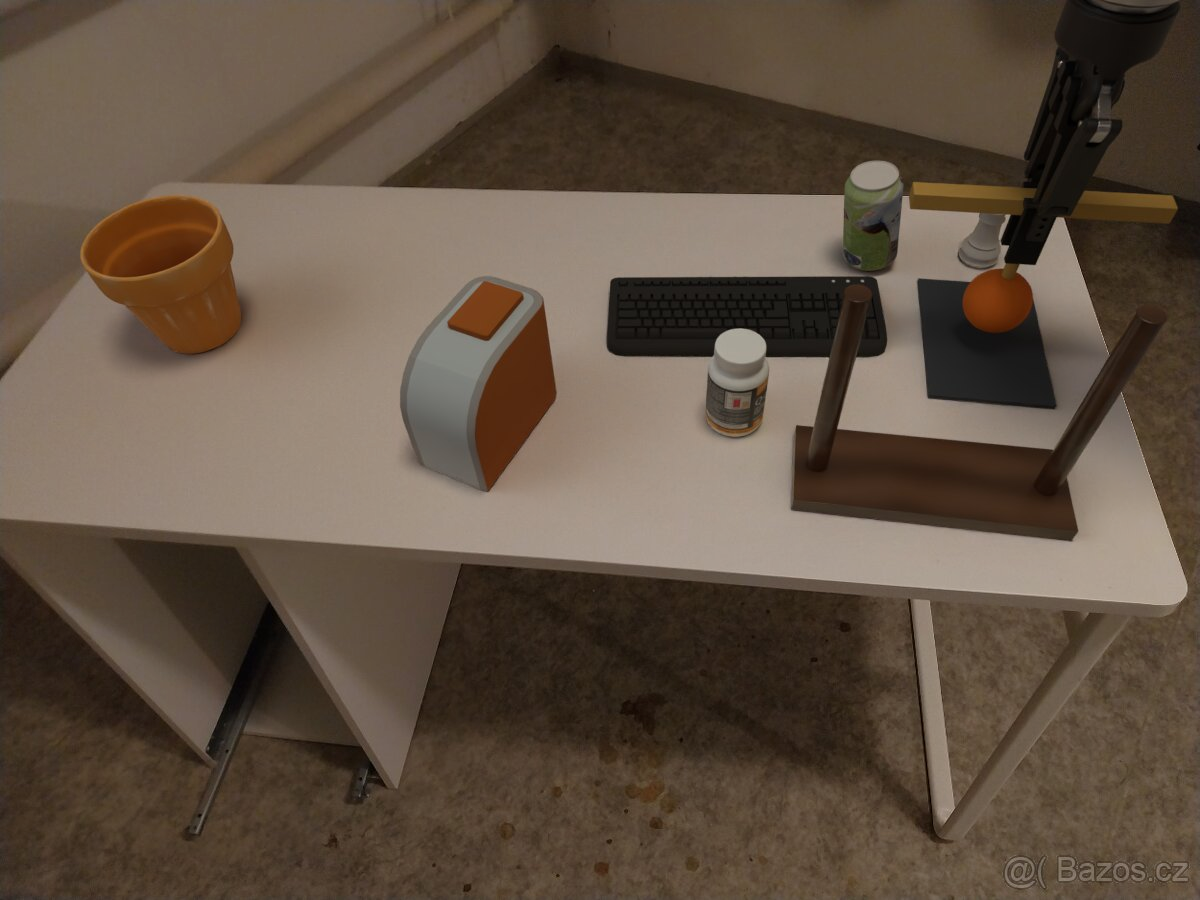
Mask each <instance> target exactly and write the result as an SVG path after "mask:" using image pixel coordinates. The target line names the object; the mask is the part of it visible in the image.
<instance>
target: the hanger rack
mask: <svg viewBox="0 0 1200 900" xmlns="http://www.w3.org/2000/svg"><path fill="white" fill-rule="evenodd" d="M871 298H872V292H871V290H870V289H869V288H867V287H866V286H863V285H858V284H856V285H850V286H848V287H847V288H846V289H845V291H844V295H843V300H842V304H841V309H840V313H839V317H838V322H837V326H836V331H835V335H834V339H833V344H832V348H831V353H830V357H828V362H827V366H826V370H825V375H824V379H823V383H822V389H821V392H820V397H819V402H818V406H817V410H816V414H815V419H814V423H813V426H811V425H801V424H800V425H799V424H796V425H795V428H794V433H793V449H792V451H793V453H792V475H791V476H792V477H791V479H792V480H791V502H790V503H791V504H790V505H791V506H790V509H791V511H799V512H806V513H807V512H808V513H817V514H827V515H835V516H844V517H854V518H862V519H871V520H880V521H890V522H899V523H907V524H908V523H909V524H916V525H928V526H936V527H943V528H953V529H963V530H970V531H971V530H972V531H980V532H981V531H982V532H989V533H990V532H991V533H998V534H1008V535H1016V536H1024V537H1025V536H1027V537H1035V538H1043V539H1044V538H1045V539H1054V540H1060V541H1061V540H1063V541H1070V542H1071V541H1073V540H1074V538H1075V537H1076V536H1077V534H1078V533H1079V528H1078V523H1077V518H1076V514H1075V513H1076V512H1075V509H1074V504H1073V499H1072V494H1071V489H1070V486H1069V482H1068V481H1069V480H1068V476H1069V474H1070V473H1071V471H1072V470H1073V468H1074V467H1075V465H1076V464H1077V462H1078V461H1079V459H1080V457H1081V456H1082V454H1083V453H1084V451H1085V449H1086V448H1087V446H1088V445H1089V443H1090V442H1091V440H1092V439H1093V437H1094V435H1095V434H1096V432H1097V431H1098V429H1099V428H1100V426H1101V424H1102V423H1103V421H1104V420H1105V418H1106V417H1107V415H1108V414H1109V412H1110V410H1111V409H1112V408H1113V406H1114V404H1115V403H1116V401H1117V400H1118V398H1119V397H1120V395H1121V393H1122V392H1123V391H1124V389H1125V387H1126V385H1127V384H1128V382H1129V381H1130V380H1131V378H1132V376H1133V375H1134V373H1135V371H1136V370H1137V369H1138V367H1139V365H1140V364H1141V362H1142V360H1143V359H1144V357H1145V356H1146V354H1147V353H1148V352H1149V350H1150V348H1151V346H1153V344H1154V342H1155V340H1156V338H1157V337H1158V335H1159V334H1160V332H1161V331H1162V330H1163V328H1164V326H1165V324H1166V323H1167V322H1168V319H1169V317H1168V314H1167V312H1166V311H1165V310H1164V309H1162V308H1160V307H1159V306H1156V305H1153V304H1143V305H1140V306H1138V307H1137V308H1136V310H1135V311H1134V313H1133V315H1132V317H1131V318H1130V320H1129V322H1128V323H1127V325H1126V326H1125V328H1124V330H1123V331H1122V333H1121V335H1120V337H1119V338H1118V340H1117V342H1116V343H1115V345H1114V347H1113V348H1112V350H1111V352H1110V353H1109V355H1108V357H1107V359H1106V360H1105V362H1104V364H1103V365H1102V367H1101V368H1100V371H1099V372H1098V374H1097V375H1096V377H1095V378H1094V380H1093V382H1092V384H1091V385H1090V387H1089V389H1088V391H1086V394H1085V395H1084V398H1083V399H1082V401H1081V402H1080V404H1079V405H1078V407H1077V409H1076V411H1075V413H1074V414H1073V416H1072V417H1071V419H1070V421H1069V422H1068V424H1067V426H1066V428H1065V429H1064V431H1063V433H1062V434H1061V436H1060V438H1059V439H1058V441H1057V443H1056V445H1055V446H1054V447H1053V449H1052V448H1051V449H1050V448H1040V447H1032V446H1031V447H1030V446H1019V445H1011V444H1010V445H1009V444H1000V443H999V444H998V443H989V442H988V443H987V442H977V441H968V440H956V439H946V438H938V437H937V438H936V437H926V436H916V435H905V434H904V435H903V434H895V433H884V432H883V433H882V432H872V431H864V430H863V431H862V430H852V429H840V428H839V424H840V421H841V416H842V413H843V408H844V405H845V401H846V397H847V393H848V390H849V385H850V382H851V378H852V374H853V370H854V366H855V362H856V358H857V357H856V355H857V352H858V348H859V344H860V340H861V336H862V333H863V329H864V325H865V321H866V317H867V314H868V310H869V306H870V302H871Z"/></svg>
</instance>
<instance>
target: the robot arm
mask: <svg viewBox="0 0 1200 900" xmlns="http://www.w3.org/2000/svg"><path fill="white" fill-rule="evenodd" d="M1180 10H1181V3H1180V0H1065V1H1064V5H1063V8H1062V10H1061V13H1060V16H1059V18H1058V22H1057V24H1056V27H1055V30H1054V34H1053V35H1054V41H1055V44H1056V45H1057V48H1055V54H1054V55H1055V56H1054V60H1053V65H1052V68H1051V72H1050V75H1049V79H1048V82H1047V84H1046V88H1045V91H1044V94H1043V97H1042V100H1041V103H1040V106H1039V108H1038V112H1037V115H1036V117H1035V120H1034V125H1033V127H1032V130H1031V133H1030V137H1029V138H1028V142H1027V145H1026V149H1025V150H1024V153H1023V160H1024V161H1025V162H1028V163H1027V165H1026V167H1025V168H1024V173H1023V174H1024V179H1026V181H1023V183H1022V184H1021V187H1020V188H1037V190H1036V192H1035V195H1034V198H1024V201H1023V208H1024V210H1023V213H1022V215H1009V217H1008V220H1007V223H1006V225H1005V228H1004V231H1003V233H1002V236H1001V239H1000V246H1007V247H1008V248H1007V250H1006V252H1005V255H1004V257H1003V259H1004V264H1006V263H1008V264H1020V265H1024V266H1026V265H1027V266H1036V265H1037V263H1038V261H1039V258H1040V257H1041V254H1042V253H1043V249H1044V248H1045V245H1046V243H1047V242H1048V241H1047V240H1048V238H1049V236H1050V234H1051V231H1052V229H1053V227H1054V225H1055V222H1056V220H1057V218H1058V217H1057V216H1071V214H1072V213H1073V211H1074V209H1075V207H1076V205H1077V203H1078V202H1079V200H1080V198H1081V196H1082V194H1083V192H1084V191H1086V188H1087V187H1088V185H1089V184H1090V181H1091V180H1092V177H1093V176H1094V174H1095V172H1096V170H1097V168H1098V167H1099V165H1100V162H1101V161H1102V159H1103V157H1104V155H1105V154H1106V152H1107V150H1108V148H1109V147H1110V145H1111V144H1113V142H1114V141H1115V140H1116V139H1117V137H1118V136H1119V135H1120V134H1121V131H1122V129H1123V120H1122V119H1120V118H1112V109H1113V107H1114V105H1116V104H1117V103H1118V102H1119V100H1120V98H1121V96H1122V93H1123V91H1124V88H1125V84H1126V81H1125V80H1126V79H1125V78H1126V73H1127V72H1128V71H1129V70H1130V69H1132V68H1133V67H1135V66H1138V65H1140V64H1143V63H1146V62H1149V61H1150V60H1152V59H1154V58H1155V57H1156V56H1157V55H1158V54H1159V53H1160V52H1161V50H1162V48H1163V47H1164V44H1165V42H1166V39H1167V38H1168V35H1169V33H1170V31H1171V29H1172V27H1173V25H1174V23H1175V20H1176V18H1177V17H1178V14H1179V12H1180Z"/></svg>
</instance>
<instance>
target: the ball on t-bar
mask: <svg viewBox="0 0 1200 900" xmlns="http://www.w3.org/2000/svg"><path fill="white" fill-rule="evenodd" d="M1036 190H1037V188H1021V187H1017V186H1016V187H1015V186H999V185H981V184H980V185H978V184H959V183H944V182H943V183H941V182H940V183H939V182H921V181H913V182H911V187H910V191H909V195H908V202H909V209H910V210H920V211H938V212H952V213H953V212H955V213H973V214H980V213H989V214H1006V215H1008V216H1010V215H1022V213H1023V210H1024V208H1023V201H1024V198H1034V195H1035V192H1036ZM1178 209H1179V208H1178V205H1177V202H1176V200H1175V198H1174V196H1173V195H1171V194H1154V193H1153V194H1151V193H1135V192H1133V193H1131V192H1113V191H1096V190H1095V191H1094V190H1084V192H1083V194H1082V196H1081V198H1080V200H1079V202H1078V203H1077V205H1076V207H1075V209H1074V211H1073V213H1072V214H1071V216H1057V218H1060V219H1079V220H1095V221H1096V220H1098V221H1113V222H1115V221H1116V222H1132V223H1133V222H1134V223H1148V224H1149V223H1150V224H1165V225H1166V224H1168V225H1169V224H1170V223H1172V220H1173V218H1174V217H1175V215H1176V214H1177V212H1178ZM1006 215H1005V216H1006ZM1020 265H1021V264H1008V263H1004V267H1003V268H1001V267H1000V268H992V269H989V270H988V269H987V270H985V271H983V272H982V273H980V274H978V275H976V276H975V277H974V278H973V279H972V280H971V281H969V282H970V284H969V285H968V287H967V288H966V290H965V293H964V296H963V310H964V314H965V316H966V318H967V319H968V321H969V322H970V323H971V324H972V325H973V326H975V327H976V328H978V329H980V330H982V331H985V332H989V333H1001V332H1006V331H1009V330H1011V329H1013V328H1015V327H1017V326H1018V325H1020V324H1021V323H1022V322H1023V321H1024V320H1025V319H1026V317H1027V316H1028V314H1029V312H1030V310H1031V307H1032V303H1033V300H1034V294H1033V289H1032V286H1031V285H1030V283H1029V282H1028V280H1027V279H1026V278H1025V277H1024V276H1023V275H1021V274H1020V273H1019V272H1018V269H1019V267H1020ZM1030 286H1031V287H1030Z"/></svg>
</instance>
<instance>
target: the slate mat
mask: <svg viewBox="0 0 1200 900" xmlns="http://www.w3.org/2000/svg"><path fill="white" fill-rule="evenodd" d="M916 282H917V283H916V284H917V295H918V303H919V315H920V316H919V317H920V327H921V335H922V337H921V338H922V347H923V348H922V349H923V357H924V358H923V359H924V368H925V378H926V391H927V398H928V399H936V400H947V401H959V402H968V403H979V404H980V403H981V404H991V405H992V404H993V405H1002V406H1003V405H1004V406H1015V407H1026V408H1037V409H1049V410H1056V409H1057V407H1058V404H1057V400H1056V396H1055V391H1054V386H1053V382H1052V377H1051V372H1050V367H1049V363H1048V359H1047V355H1046V349H1045V346H1044V341H1043V335H1042V332H1041V327H1040V323H1039V317H1038V314H1037V310H1036V309H1037V308H1036V304H1035V301H1034V299H1033V303H1032V307H1031V310H1030V312H1029V314H1028V316H1027V317H1026V319H1025V320H1024V321H1023V322H1022V323H1021V324H1020V325H1018V326H1017V327H1015V328H1013V329H1011V330H1009V331H1006V332H1001V333H989V332H985V331H982V330H980V329H978V328H976V327H975V326H973V325H972V324H971V323H970V322H969V321H968V319H967V318H966V316H965V314H964V310H963V296H964V293H965V290H966V288H967V287H968V285H969V284H970V282H971V281H963V280H951V279H950V280H949V279H948V280H947V279H937V278H936V279H934V278H933V279H932V278H920V277H919V278H917V281H916ZM1030 287H1031V288H1032V286H1031V285H1030Z"/></svg>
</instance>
